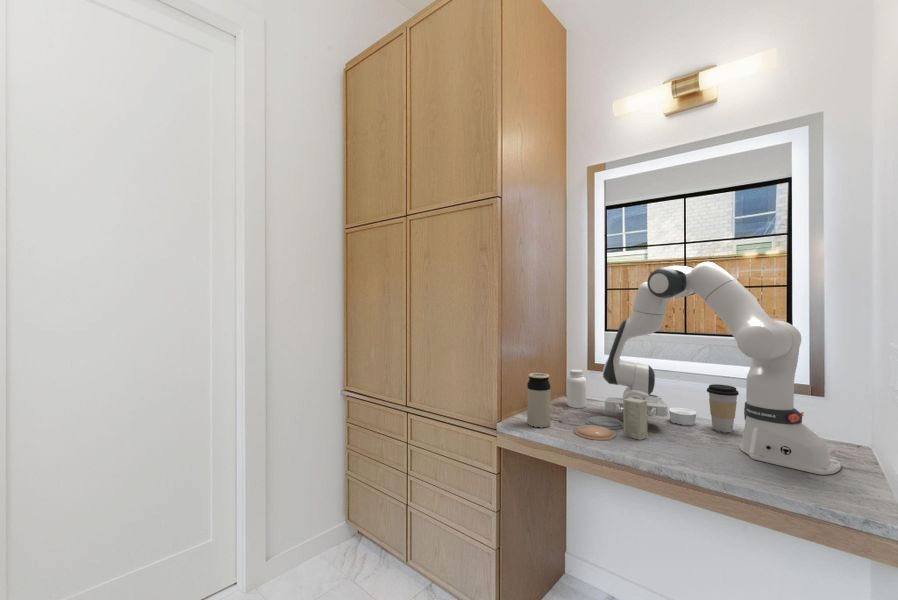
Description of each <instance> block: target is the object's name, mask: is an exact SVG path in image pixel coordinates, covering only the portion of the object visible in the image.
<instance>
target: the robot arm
mask: <svg viewBox="0 0 898 600" xmlns="http://www.w3.org/2000/svg"><path fill="white" fill-rule="evenodd" d="M693 295H697V296H698V297H700V298H701V300H702V301H703V302H704V303H705V304H706V305H707V306H708V307H709V308H710V309H711V310H712V311H713V313H714V314H716V315H717V316H718V318H719V319H720V320H721V321H722V322H723V323H724V324H725V326H726V327H727V329H728V331H729V332H730V334H731V336H733V338H734V340H735V341H736V344H737V347H738V349H739V351H740V352H741V353H742V354H743V355H745V357H749V358H751V363H750V367H749V370H748V373H747V374H746V395H745V396H746V398H745V399H746V400H745V402H744V406H743V415H744V416H743V417H744V428H743V429H744V430H743V435H742V438H741V442H740V444H739V448H738V449H740V451H741V452H743V453H744V454H747V455H748V456H749V457H750V458H751V459H752V460H755V461H760V462H764V463H767V464H768V463H769V464H772V465H777V466H781V467H785V468H789V469H794V470H798V471H802V472H806V473H807V472H808V473H811V474H816V475H833V474H835V473H837V472H839V471H840V470H841V469H842V467H841V463H840V462H839V461H838V460H836V459H834V458H831V455H830V450H829V447H828V444H827V442H826V441H825V440H824V439H823V438H822V437H820V436H819V435H818V434H817V433H815V432H814V431H812V430H811V429H810V428H809V427H808V426H806V425H805V424H804V423H803V417H804V416H805V415H804V411H801V412H800V411H798V410H797V409H796V408H795V407H794V406H795V405H794V402H795V399H794V397H795V396H794V395H795V388H794V387H795V377H796V372H797V366H798V360H799V354H800V347H801V344H802V335H801V332H800V331H799V329H797V328H796V327H795V326H794V325H793V324H791V323H789V322H787V321H783V320H774V319H772V318H771V317H770V316H769V315H768V314H767V313H766V311H765V310H764V309H763V307H762V306H761V305H760V303H759V301H758V299H757V297H755V295H753V294H752V293H751V292H750V291H749V290H748V289H747V288H746V287H745V286H744V285H743V284H741V282H739V280H737V279H736V277H734V276H733V275H731V274H730V273H729V272H728V271H726V270H725V269H724V268H723V267H721V266H719V265H718V264H716V263H714V262H711V261H704V262H701V263H698V264H697V265H695V266H691V265H671V266H663V267H659V268H656V269H655V270H653V271H652V272H651V273H650V274H649V275H648V278H647V281H644V282H642V283H641V284H640V285H639V286H638V288H637V292H636V294H635V298H634V303H633V306H632V312H631V314H630V316H629V317H628V318H626V320H623V321H622V322H621V324H620V325H619V327H618V329H617V333H616V335H615V337H614V340H613V343H612V345H611V349H610V351H609V355H608V358H607V360H606V362H604V365H603V368H602V377H603V379H604V380H605V381H606V382H607V383H608V384H609V385H615V386H622V387H625V389H624V391H623V393H622V397H615V396H614V397H612V396H611V397H606V398H605V400H604V410H605V411H607V412H616V413H619V414H623V399H626V398H635V399H640V400H645V401H647V417H654V416H655V417H668V415H669V414H668V412H669V409H668V405H667V402H666V401H664V400H663V399H662V397H661V396H659V395H656V394H652V393H653V392H654V390H655V389H654V388H655V385H656V383H655V382H656V376H655V375H656V374H655V371H654V369H653V368H652V366H650V365H649V364H645V363H640V362H634V361H633V362H632V361H629V360H628V361H627V360H623V359H621V358H620V357H621V355H622V353H623V350H624V347H625V345H626V342H627V341H629V340H631V339H632V338H637V337H642V336H647V335H651V334H653V333H657V331H659V330H660V329H661V328H662V327H663V325H664V322H665V318H666V312H667V308H668V307H667V305H668V302H669V301H670V300H671V299H672V298H674V299H679V298H683V297H690V296H693Z"/></svg>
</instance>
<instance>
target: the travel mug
mask: <svg viewBox="0 0 898 600" xmlns="http://www.w3.org/2000/svg"><path fill="white" fill-rule="evenodd" d="M527 376H528V378H529V379H528V382H527V393H526V394H527V395H526V396H527V397H526V399H527V400H526V401H527V410H526V412H527V415H526V418H527V419H526V422H527V423H528V424H529V426H530V425H531V426H530V427H532V426H534V427H533V428H536V427H540V428H539V429H544V428H543V427H545V428H547V427H549V426H551V383H550V381H549V378H550V374H549V373H544V372H543V373H542V372H541V373H540V372H532V373H529V374H527ZM528 424H527V425H528Z"/></svg>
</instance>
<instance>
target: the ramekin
mask: <svg viewBox="0 0 898 600" xmlns="http://www.w3.org/2000/svg"><path fill="white" fill-rule="evenodd" d="M668 412H669V420H670V422H671V423H673V424H675V423H677V424H676V425H679V424H682V425H681V426H687V425H690V426H694V425H695V423H696V418H697V417H696V416H697V411H695V410H692V409H690V408H684V407H683V408H682V407H670V408H669V409H668ZM693 424H694V425H693Z"/></svg>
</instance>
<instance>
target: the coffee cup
mask: <svg viewBox="0 0 898 600" xmlns="http://www.w3.org/2000/svg"><path fill="white" fill-rule="evenodd" d="M705 391H706V392H707V393H708V398H709V399H708V401H709V412H710V416H711V426H712V429H713V430H714V429H715V430H714V431H716V430H718V431H717V432H720V431H722V432H721V433H727V432H730V433H732V432H733V430H734V421H735V418H736V410H737V400H738V396H739V394H740V393H739V391H738V390H737V387H735V386H732V385H728V384H716V383H715V384H713V383H712V384H709V385H708V387H707V388H706V390H705Z"/></svg>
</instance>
